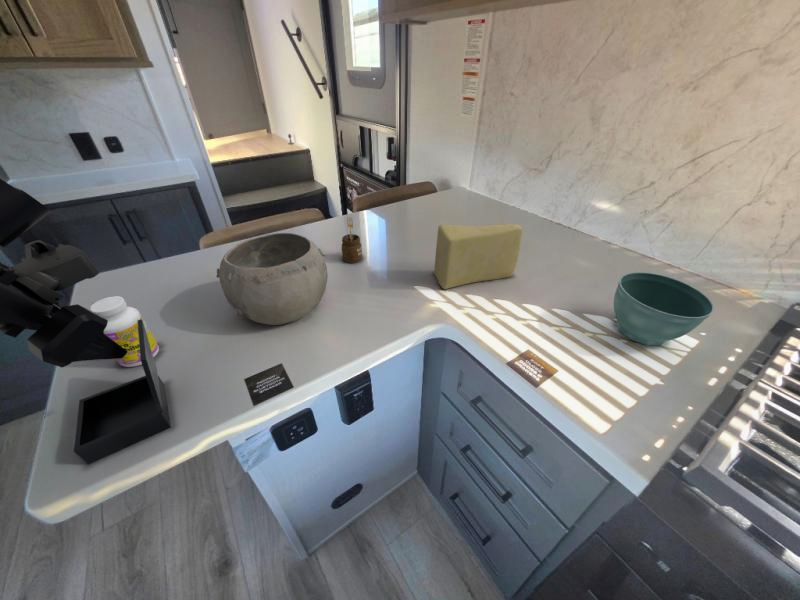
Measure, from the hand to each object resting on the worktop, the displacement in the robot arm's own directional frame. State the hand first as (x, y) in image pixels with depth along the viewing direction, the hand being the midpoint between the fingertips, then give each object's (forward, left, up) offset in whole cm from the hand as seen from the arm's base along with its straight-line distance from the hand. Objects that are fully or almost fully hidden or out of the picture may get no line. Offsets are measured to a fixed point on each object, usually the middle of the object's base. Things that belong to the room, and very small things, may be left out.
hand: (106, 343), depth 45 cm
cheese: (+76, -3, -14) cm, 78 cm away
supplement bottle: (-1, +14, -14) cm, 20 cm away
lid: (+3, -2, -5) cm, 6 cm away
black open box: (-3, -2, -14) cm, 15 cm away
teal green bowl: (+90, -40, -14) cm, 100 cm away
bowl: (+28, +15, -14) cm, 35 cm away
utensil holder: (+53, +26, -14) cm, 61 cm away
